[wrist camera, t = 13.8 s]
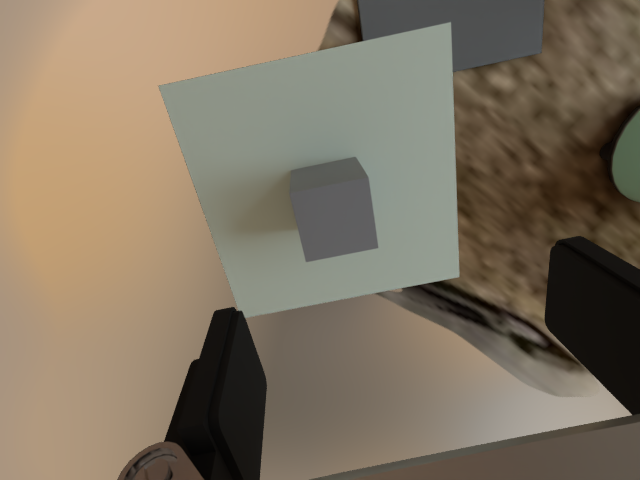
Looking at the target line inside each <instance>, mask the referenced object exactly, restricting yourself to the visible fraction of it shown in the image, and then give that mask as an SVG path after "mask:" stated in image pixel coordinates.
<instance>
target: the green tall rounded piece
mask: <svg viewBox="0 0 640 480" xmlns="http://www.w3.org/2000/svg"><path fill="white" fill-rule="evenodd" d="M600 156H601V158H603V159H605V160H608V168H607V169H608V173H609V177H610V181H611V182H612V184H613V185H614V187H615V189H616V190H617V191H618V192H620V193H621V194H623V195H624V196H625V197H627V198H628V199H631V200H633V201H636V202H639V203H640V106H639V107H637V108H636V109H635V110H634V111H633V112H632V113H631V114H630V115H629V117H628V118H627V119H626V120H625V121H624V123H623V124H622V125H621V127H620V129H619V130H618V132H617V134H616V136H615V137H614V139H613V142H612V143H607V144H605V145H604V146H603V147H602V148H601V151H600Z"/></svg>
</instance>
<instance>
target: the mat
mask: <svg viewBox="0 0 640 480" xmlns="http://www.w3.org/2000/svg"><path fill="white" fill-rule="evenodd" d="M357 3H358V11H359V18H360V26H361V34H362V41H366V40H371V39H376V38H380V37H385V36H389V35H394V34H399V33H403V32H408V31H412V30H417V29H422V28H426V27H431V26H435V25H440V24H445V23H449V22H451V37H452V68H453V72H455V71H460V70H464V69H469V68H474V67H478V66H483V65H488V64H492V63H497V62H501V61H506V60H511V59H515V58H520V57H525V56H529V55H534V54H539V53H541V51H542V33H543V15H544V0H357Z"/></svg>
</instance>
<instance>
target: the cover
mask: <svg viewBox="0 0 640 480" xmlns="http://www.w3.org/2000/svg"><path fill="white" fill-rule="evenodd" d="M159 89H160V92H161V95H162V97H163V100H164V103H165V106H166V109H167V112H168V114H169V117H170V120H171V123H172V125H173V128H174V131H175V134H176V137H177V139H178V142H179V145H180V148H181V150H182V153H183V156H184V159H185V162H186V165H187V167H188V170H189V173H190V176H191V178H192V181H193V184H194V187H195V190H196V193H197V195H198V198H199V201H200V204H201V206H202V209H203V212H204V214H205V218H206V221H207V223H208V226H209V229H210V232H211V235H212V237H213V240H214V243H215V246H216V249H217V251H218V254H219V257H220V260H221V262H222V265H223V268H224V271H225V273H226V276H227V279H228V282H229V285H230V288H231V290H232V293H233V296H234V299H235V302H236V304H237V307H238V310H239V311H240V310H241V311H242V312H243V314H244V316H245V318H248V317H253V316H258V315H263V314H269V313H274V312H278V311H284V310H290V309H294V308H300V307H305V306H310V305H316V304H321V303H326V302H331V301H337V300H342V299H346V298H352V297H357V296H362V295H368V294H373V293H378V292H384V291H389V290H394V289H399V288H404V287H410V286H415V285H420V284H425V283H431V282H436V281H441V280H446V279H452V278H457V277H459V249H458V219H457V189H456V158H455V128H454V98H453V68H452V37H451V22H449V23H445V24H440V25H435V26H431V27H426V28H422V29H417V30H412V31H408V32H403V33H399V34H394V35H389V36H385V37H380V38H376V39H371V40H366V41H362V42H357V43H353V44H348V45H343V46H339V47H334V48H330V49H325V50H320V51H316V52H311V53H307V54H303V55H298V56H293V57H289V58H284V59H279V60H275V61H270V62H265V63H261V64H256V65H252V66H247V67H242V68H238V69H233V70H229V71H224V72H219V73H215V74H210V75H206V76H201V77H196V78H192V79H187V80H183V81H179V82H174V83H169V84H164V85H160V86H159Z"/></svg>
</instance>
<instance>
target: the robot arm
mask: <svg viewBox="0 0 640 480" xmlns="http://www.w3.org/2000/svg"><path fill="white" fill-rule="evenodd" d="M545 324H546V326H547V328H548V329H549V331H550V332H551V333H552V334H553V335H554V336H555V337H556V338H557V339H558V340H559V341H560V342H561V343H562V344H563V345H564V346H565V347H566V348H567V349H568V350H569V351H570V352H571V353H572V354H573V355H574V356H575V357H576V358H577V359H578V360H579V361H580V362H581V363H582V364H583V365H584V366H585V367H586V368H587V369H588V370H589V371H590V372H591V373H592V374H593V375H594V376H595V377H596V378H597V379H598V380H599V381H600V382H601V383H602V384H603V386H604V387H605V388H606V389H607V390H608V391H609V392H611V394H612V395H613V396H614V397H615V398H616V399H617V400H618V401H619V402H620V403H621V404H622V405H623V406H624V407H625V408H626V409H627V410H629V412H630V413H631V414H632V416H626V417H621V418H616V419H611V420H605V421H601V422H595V423H590V424H584V425H579V426H574V427H568V428H563V429H558V430H553V431H549V432H543V433H538V434H533V435H527V436H522V437H517V438H512V439H507V440H502V441H497V442H492V443H487V444H481V445H476V446H471V447H466V448H461V449H456V450H451V451H446V452H441V453H436V454H431V455H426V456H421V457H416V458H411V459H406V460H401V461H396V462H392V463H387V464H382V465H377V466H372V467H367V468H362V469H357V470H352V471H347V472H342V473H338V474H333V475H329V476H324V477H319V478H315V479H310V480H640V269H638V268H636V267H634V266H633V265H631V264H629V263H627V262H626V261H624V260H622V259H620V258H619V257H617V256H615V255H614V254H612V253H610V252H608V251H607V250H605V249H603V248H601V247H600V246H598V245H596V244H594V243H593V242H591V241H589V240H587V239H586V238H584V237H581V236H576V237H571V238H566V239H562V240H559V241H557V242H556V244H555V246H553V247H552V248H551V251H550V262H549V274H548V285H547V296H546V308H545ZM266 389H267V384H266V377H265V374H264V371H263V368H262V365H261V362H260V359H259V356H258V354H257V351H256V348H255V345H254V343H253V339H252V336H251V334H250V331H249V328H248V325H247V322H246V319H245V316H244V314H243V312H242V311H241V310H240V311H236V309H235V308H234V307H231V308H226V309H221V310H216V311H215V312H214V314H213V317H212V320H211V323H210V326H209V330H208V333H207V336H206V339H205V342H204V345H203V348H202V351H201V355H200V358H199V359H196V360H194V361H193V362H192V363H191V365H190V367H189V370H188V373H187V376H186V379H185V382H184V385H183V388H182V391H181V393H180V396H179V400H178V402H177V405H176V408H175V411H174V414H173V417H172V420H171V423H170V426H169V429H168V432H167V435H166V437H165V440H164V442H159V443H156V444H154V445H151V446H149V447H147V448H145V449H144V450H143V451H141V452H139V453H138V454H137V455H136V456H135V457H134V458H133V459H132V460H130V461H129V462H128V464H127V465H126V466H125V468H124V469H123V470H122V471H121V473H120V475H119V477H118V479H117V480H260V467H261V454H262V440H263V428H264V416H265V403H266Z"/></svg>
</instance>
